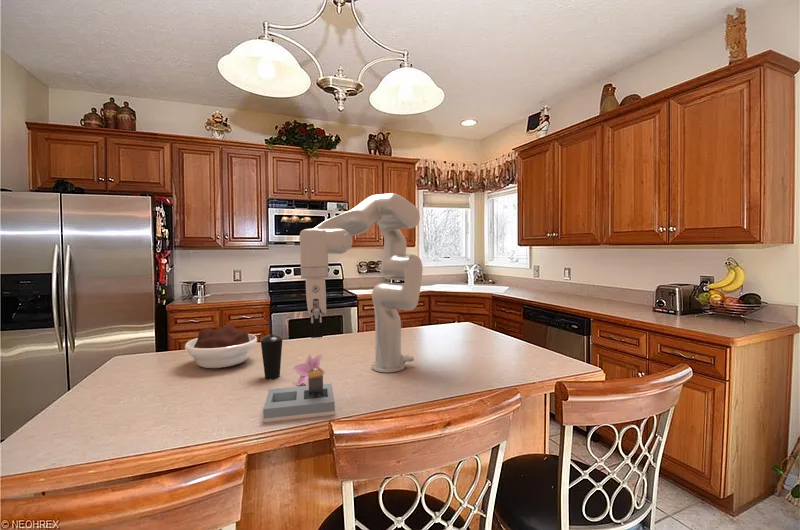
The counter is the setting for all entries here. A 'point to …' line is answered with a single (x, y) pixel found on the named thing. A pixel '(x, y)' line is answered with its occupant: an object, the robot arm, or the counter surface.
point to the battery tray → (297, 403)
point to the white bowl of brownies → (221, 347)
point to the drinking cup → (271, 354)
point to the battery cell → (315, 383)
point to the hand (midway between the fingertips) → (316, 333)
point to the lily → (307, 368)
